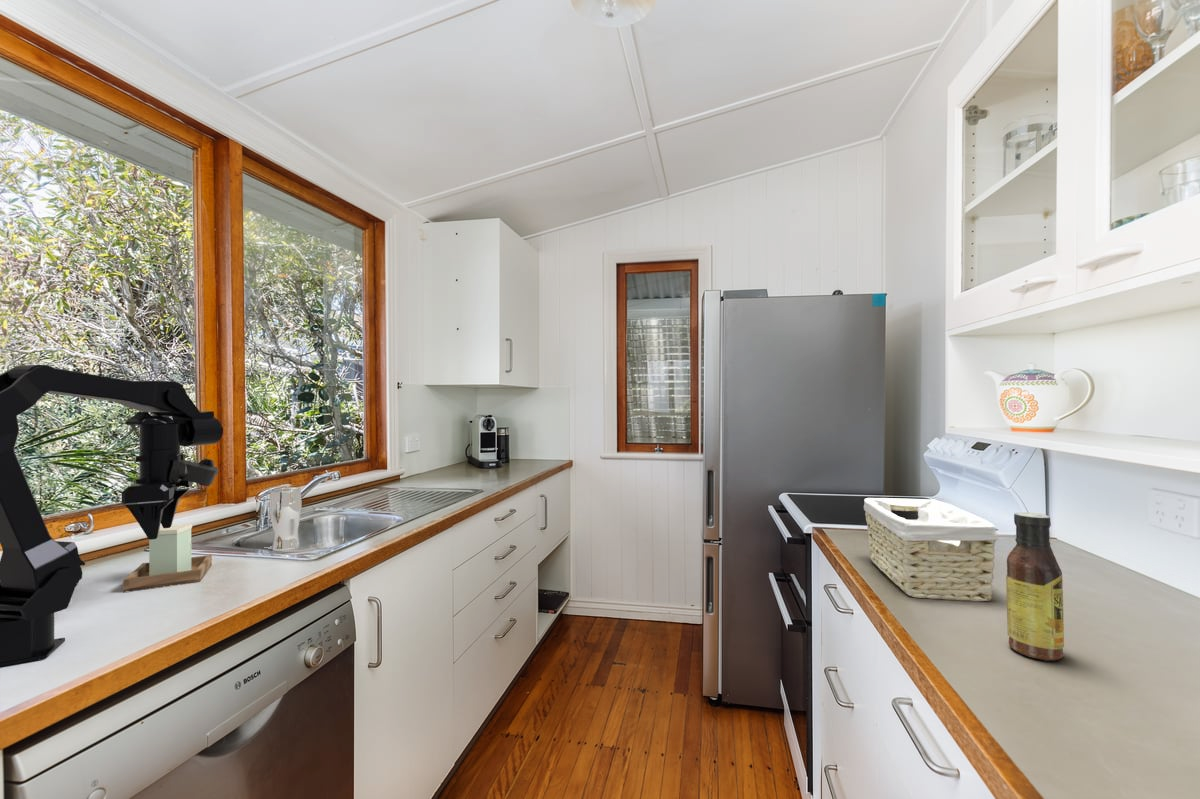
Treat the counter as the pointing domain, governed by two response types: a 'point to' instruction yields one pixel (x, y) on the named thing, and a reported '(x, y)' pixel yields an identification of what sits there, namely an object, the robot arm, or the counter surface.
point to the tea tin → (170, 550)
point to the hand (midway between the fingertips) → (160, 533)
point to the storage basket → (932, 548)
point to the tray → (167, 575)
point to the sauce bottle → (1034, 591)
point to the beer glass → (285, 517)
